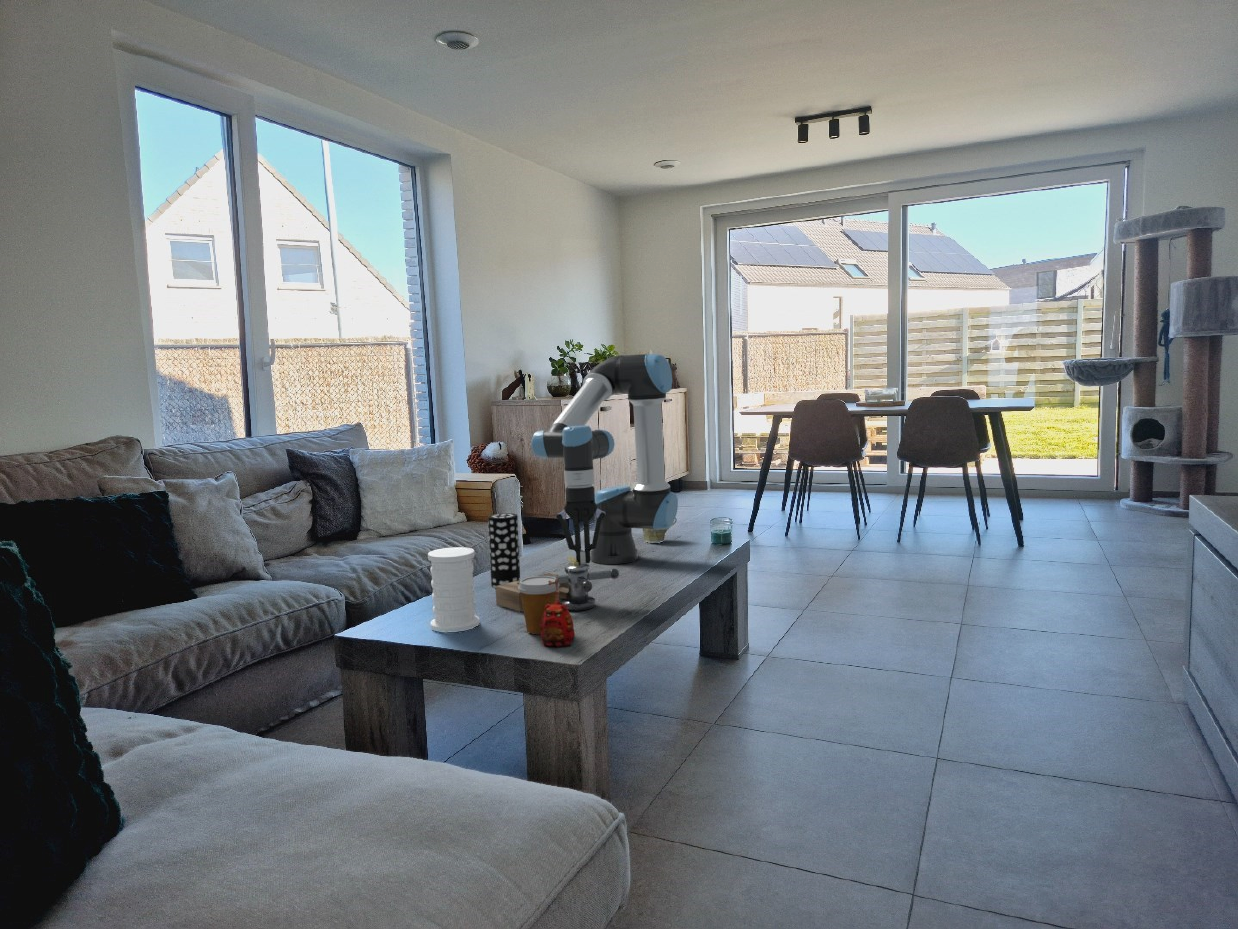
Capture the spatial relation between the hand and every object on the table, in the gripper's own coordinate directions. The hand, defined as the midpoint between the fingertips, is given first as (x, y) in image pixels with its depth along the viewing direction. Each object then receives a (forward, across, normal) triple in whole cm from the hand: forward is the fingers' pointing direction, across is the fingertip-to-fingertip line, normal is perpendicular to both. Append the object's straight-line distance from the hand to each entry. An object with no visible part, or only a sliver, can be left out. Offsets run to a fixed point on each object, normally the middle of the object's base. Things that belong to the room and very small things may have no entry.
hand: (584, 575), depth 210 cm
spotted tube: (+7, -25, +19) cm, 32 cm away
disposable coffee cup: (+7, -8, -24) cm, 26 cm away
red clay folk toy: (+7, -3, -33) cm, 34 cm away
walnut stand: (+7, -11, -1) cm, 13 cm away
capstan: (+7, -1, -6) cm, 9 cm away
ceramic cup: (+7, +19, +74) cm, 77 cm away
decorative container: (+7, -30, -19) cm, 36 cm away
